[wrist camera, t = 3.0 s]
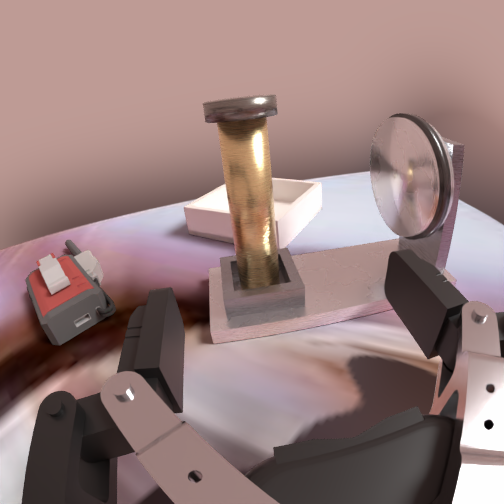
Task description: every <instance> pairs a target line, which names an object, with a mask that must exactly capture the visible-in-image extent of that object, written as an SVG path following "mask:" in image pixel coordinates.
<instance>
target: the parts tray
mask: <svg viewBox="0 0 504 504" xmlns="http://www.w3.org/2000/svg"><path fill="white" fill-rule="evenodd" d="M272 186H273V198H274V210H275V223H276V237H277V249H282V248H285V247H286V246H287V245H288V244H289V243H290V242H291V241H292V240H293V239H294V238H295V237H296V236H297V235H298V234H299V233H300V232H301V230H302V229H303V228H304V227H305V226H306V225H307V224H308V223H309V222H310V221H311V220H312V219H313V218H314V217H315V216H316V214H317V213H318V212H319V211H320V210H321V209H322V183H319V182H310V181H300V180H289V179H279V178H272ZM184 212H185V216H186V221H187V226H188V231H189V234H191V235H196V236H200V237H205V238H210V239H215V240H219V241H224V242H229V243H234V239H233V233H232V226H231V219H230V212H229V205H228V198H227V191H226V184H224V185H222V186H221V187H219V188H217V189H215V190H213V191H211V192H209V193H208V194H206V195H204V196H202V197H200V198H199V199H197V200H195V201H193V202H192V203H190V204H188V205H186V206H185V207H184Z"/></svg>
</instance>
